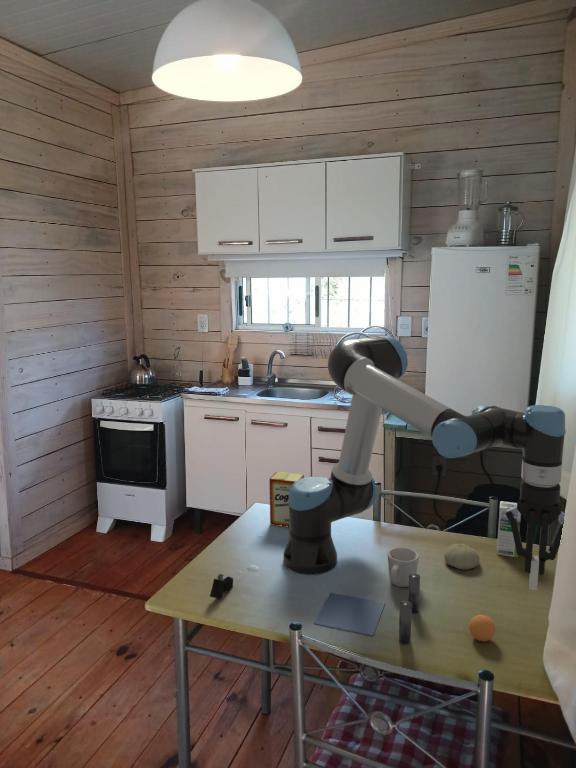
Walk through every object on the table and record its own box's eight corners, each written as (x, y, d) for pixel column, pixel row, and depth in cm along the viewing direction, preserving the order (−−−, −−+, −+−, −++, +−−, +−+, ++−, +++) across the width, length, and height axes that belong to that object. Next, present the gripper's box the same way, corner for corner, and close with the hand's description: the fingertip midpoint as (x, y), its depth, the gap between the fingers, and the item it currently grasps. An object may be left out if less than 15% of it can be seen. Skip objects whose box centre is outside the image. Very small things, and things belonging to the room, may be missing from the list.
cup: (407, 598, 150) (408, 569, 149) (377, 589, 154) (378, 561, 153) (422, 579, 159) (423, 551, 158) (393, 571, 163) (394, 544, 162)
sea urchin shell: (474, 547, 172) (480, 538, 166) (477, 576, 168) (483, 567, 161) (441, 546, 173) (445, 536, 166) (443, 575, 169) (447, 566, 162)
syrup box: (496, 555, 172) (499, 507, 169) (497, 545, 177) (500, 499, 174) (517, 558, 170) (521, 510, 167) (517, 549, 175) (521, 502, 172)
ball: (467, 643, 132) (469, 621, 131) (469, 629, 137) (470, 607, 136) (494, 649, 131) (495, 626, 129) (494, 634, 136) (496, 612, 134)
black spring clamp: (222, 598, 156) (227, 575, 158) (230, 600, 155) (235, 577, 157) (207, 595, 148) (212, 572, 150) (214, 597, 147) (220, 574, 149)
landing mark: (313, 623, 140) (313, 623, 140) (330, 593, 153) (330, 592, 153) (372, 636, 135) (372, 635, 135) (385, 603, 148) (385, 602, 148)
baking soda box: (304, 520, 196) (304, 473, 193) (298, 528, 190) (298, 480, 187) (276, 516, 199) (276, 470, 196) (270, 524, 193) (269, 477, 190)
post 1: (397, 642, 133) (398, 606, 131) (399, 636, 135) (400, 599, 133) (409, 645, 132) (410, 608, 130) (411, 638, 134) (412, 602, 133)
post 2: (407, 612, 144) (408, 577, 143) (408, 606, 147) (409, 572, 145) (417, 614, 144) (419, 579, 142) (419, 608, 146) (420, 574, 144)
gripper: (506, 484, 122) (500, 590, 126) (577, 491, 117) (568, 601, 122) (506, 472, 129) (500, 573, 133) (573, 478, 124) (565, 583, 129)
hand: (533, 586), depth 128 cm, fingers closed
